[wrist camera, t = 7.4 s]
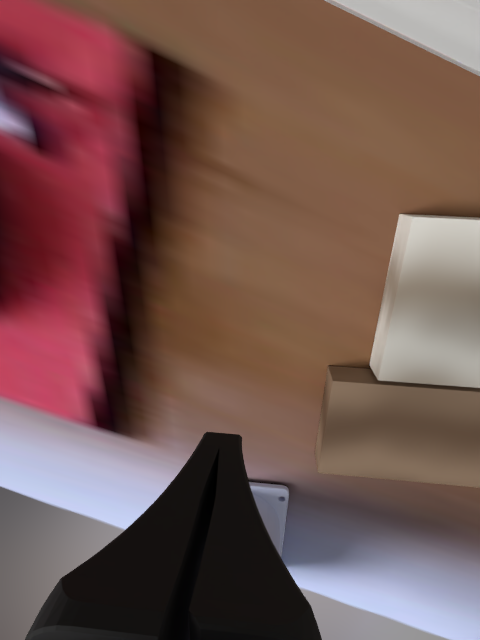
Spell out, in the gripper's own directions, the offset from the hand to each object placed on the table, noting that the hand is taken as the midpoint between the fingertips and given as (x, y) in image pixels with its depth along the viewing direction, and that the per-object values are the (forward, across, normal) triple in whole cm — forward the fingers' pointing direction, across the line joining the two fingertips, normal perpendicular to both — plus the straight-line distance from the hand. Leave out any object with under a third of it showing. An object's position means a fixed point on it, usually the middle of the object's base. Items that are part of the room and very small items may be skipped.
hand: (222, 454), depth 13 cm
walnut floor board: (+9, -14, +4) cm, 17 cm away
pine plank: (+9, -13, -4) cm, 17 cm away
